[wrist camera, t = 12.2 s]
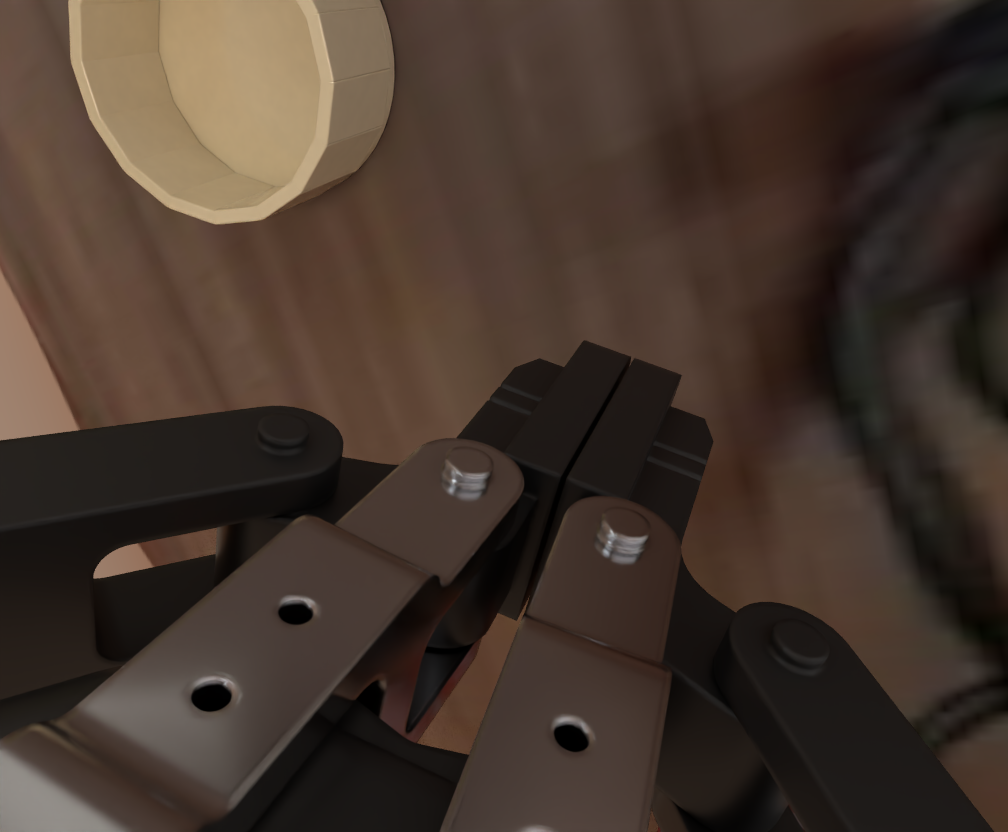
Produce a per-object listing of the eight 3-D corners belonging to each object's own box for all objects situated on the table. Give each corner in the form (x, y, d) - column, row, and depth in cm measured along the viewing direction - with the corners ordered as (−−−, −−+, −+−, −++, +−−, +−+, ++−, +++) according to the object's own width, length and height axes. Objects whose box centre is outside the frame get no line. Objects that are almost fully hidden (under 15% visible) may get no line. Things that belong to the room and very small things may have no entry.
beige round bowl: (158, -130, 31) (62, -141, 28) (415, -59, 29) (350, -61, 26) (155, 151, 36) (73, 174, 33) (374, 227, 35) (314, 261, 31)
